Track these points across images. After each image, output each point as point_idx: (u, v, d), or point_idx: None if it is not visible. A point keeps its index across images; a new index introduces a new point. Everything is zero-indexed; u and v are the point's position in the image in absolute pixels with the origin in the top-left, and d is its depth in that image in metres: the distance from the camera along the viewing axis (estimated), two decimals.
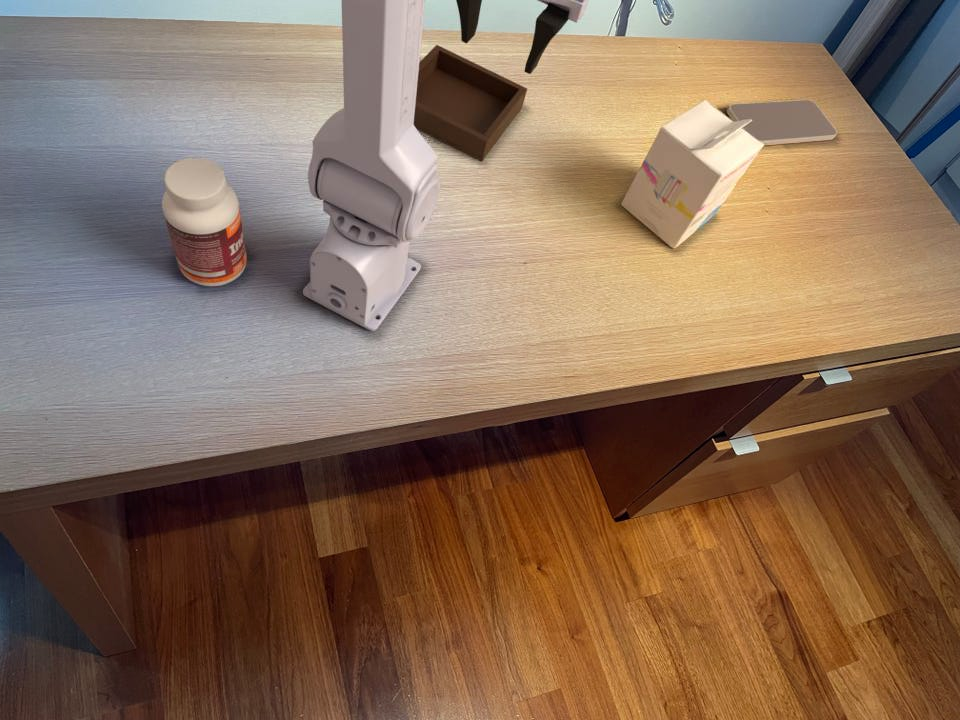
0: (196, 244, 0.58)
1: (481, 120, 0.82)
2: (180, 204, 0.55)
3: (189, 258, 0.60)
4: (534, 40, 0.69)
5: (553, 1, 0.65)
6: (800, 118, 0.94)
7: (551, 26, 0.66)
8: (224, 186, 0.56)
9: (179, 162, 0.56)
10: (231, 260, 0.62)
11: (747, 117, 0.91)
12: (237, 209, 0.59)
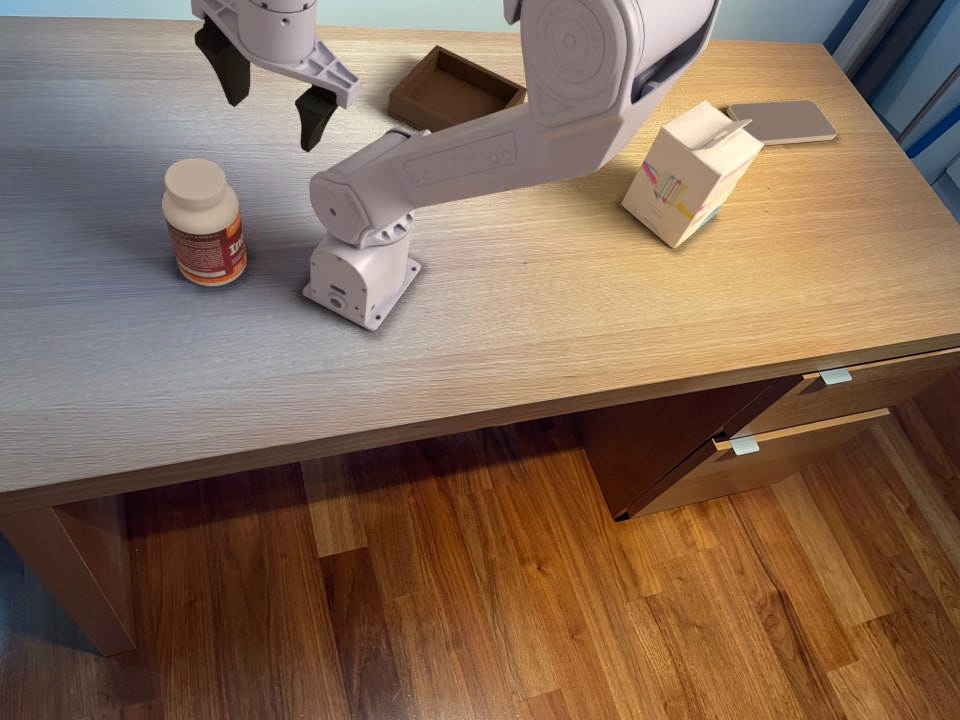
0: (196, 244, 0.58)
1: None
2: (180, 204, 0.55)
3: (189, 258, 0.60)
4: (301, 121, 0.57)
5: (314, 83, 0.53)
6: (800, 118, 0.94)
7: (312, 112, 0.54)
8: (224, 186, 0.56)
9: (179, 162, 0.56)
10: (231, 260, 0.62)
11: (747, 117, 0.91)
12: (237, 209, 0.59)
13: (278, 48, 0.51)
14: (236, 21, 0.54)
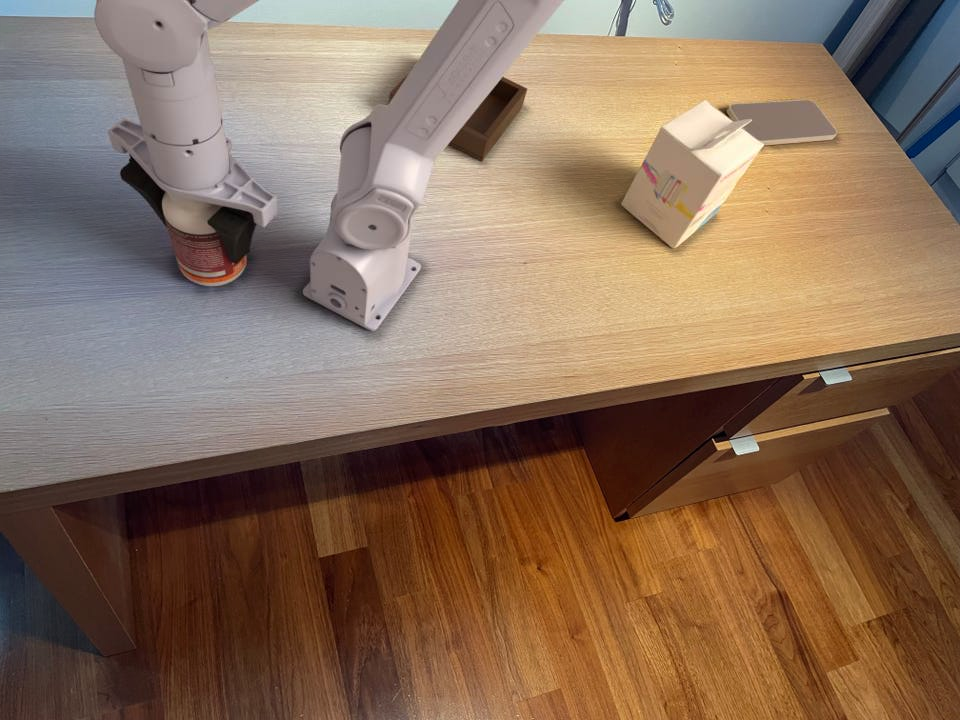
0: (196, 244, 0.58)
1: (481, 120, 0.82)
2: (180, 204, 0.55)
3: (190, 258, 0.60)
4: (221, 237, 0.57)
5: (228, 206, 0.54)
6: (800, 118, 0.94)
7: (225, 230, 0.54)
8: None
9: None
10: None
11: (747, 117, 0.91)
12: None
13: (188, 177, 0.52)
14: None
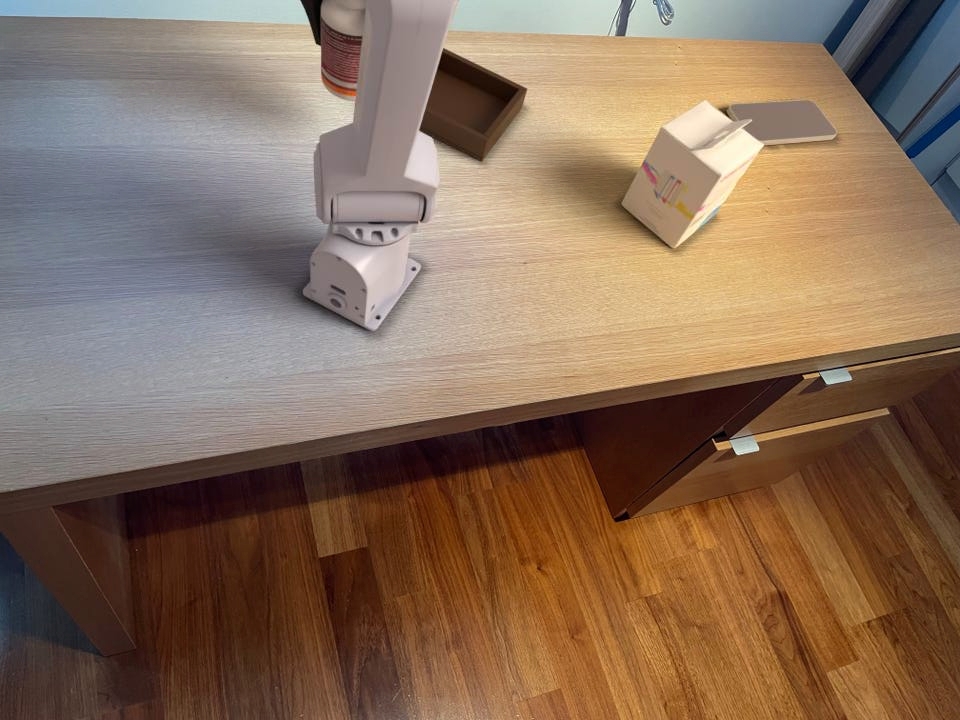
0: (350, 48, 0.64)
1: (481, 120, 0.82)
2: (343, 3, 0.61)
3: (340, 66, 0.66)
4: None
5: None
6: (800, 118, 0.94)
7: None
8: None
9: None
10: None
11: (747, 117, 0.91)
12: None
13: None
14: None
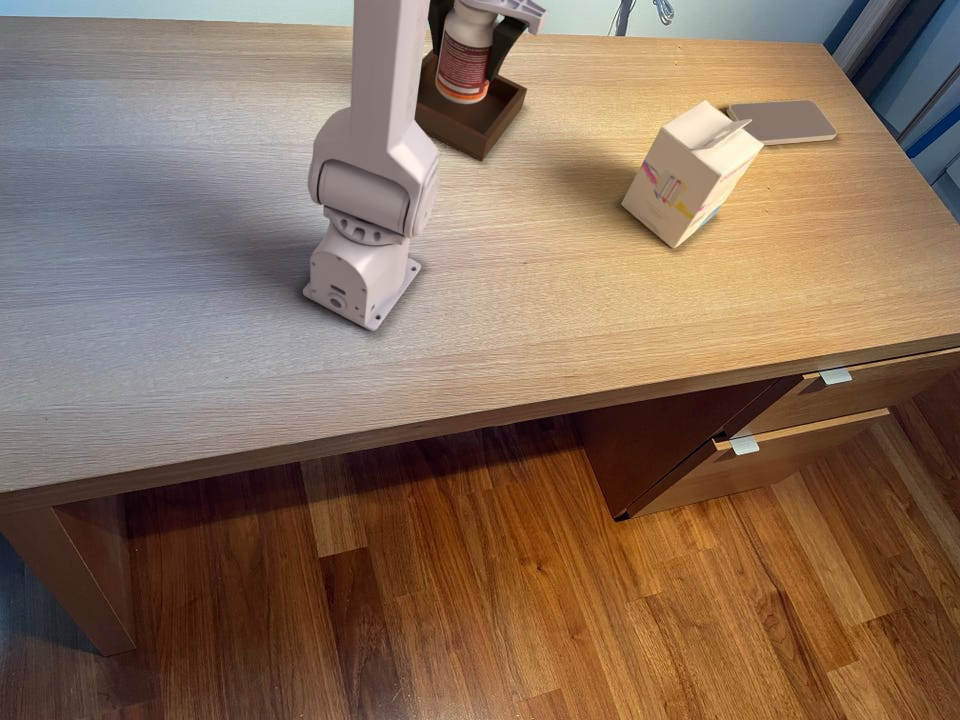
0: (469, 58, 0.73)
1: (481, 120, 0.82)
2: (468, 19, 0.70)
3: (458, 73, 0.75)
4: (493, 50, 0.72)
5: (513, 15, 0.68)
6: (800, 118, 0.94)
7: (507, 37, 0.69)
8: None
9: None
10: (485, 79, 0.76)
11: (747, 117, 0.91)
12: None
13: None
14: None
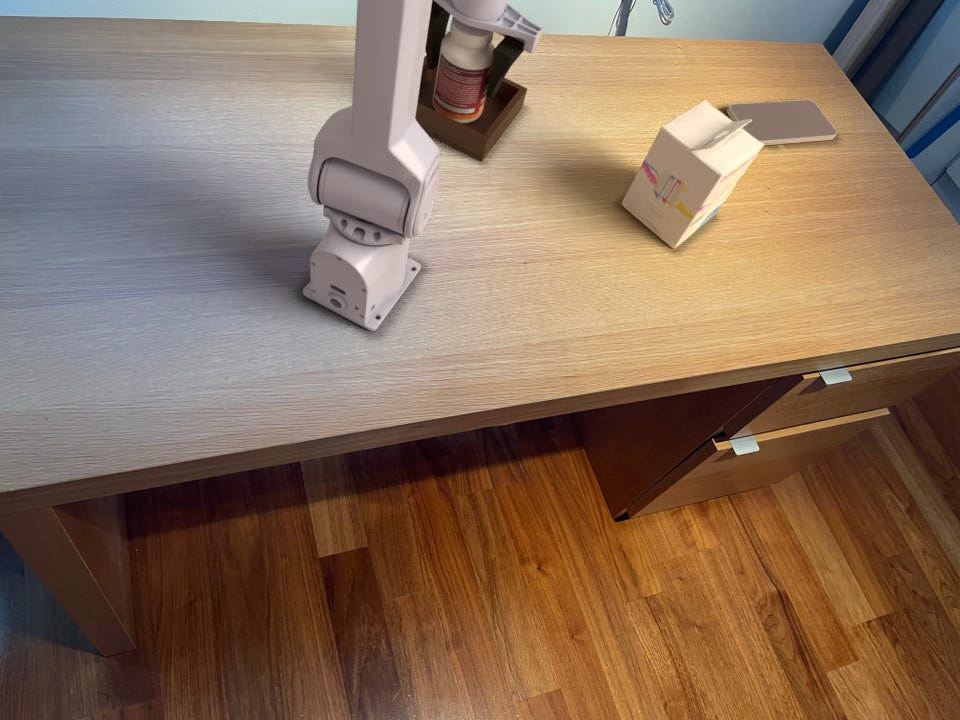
0: (465, 80, 0.75)
1: (481, 120, 0.82)
2: (463, 43, 0.72)
3: (454, 94, 0.77)
4: (493, 68, 0.74)
5: (508, 34, 0.70)
6: (800, 118, 0.94)
7: (507, 57, 0.71)
8: None
9: None
10: (481, 99, 0.79)
11: (747, 117, 0.91)
12: None
13: (485, 7, 0.68)
14: None
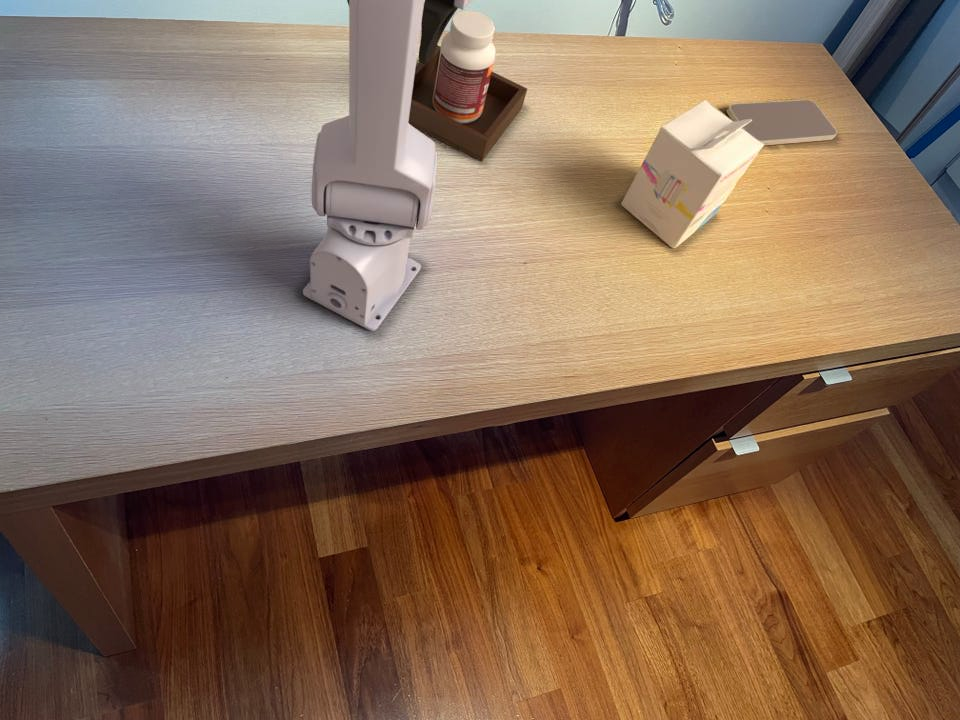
0: (465, 80, 0.75)
1: (481, 120, 0.82)
2: (463, 43, 0.72)
3: (454, 95, 0.77)
4: (422, 28, 0.66)
5: None
6: (800, 118, 0.94)
7: (435, 13, 0.63)
8: (493, 31, 0.73)
9: (459, 12, 0.73)
10: (481, 99, 0.79)
11: (747, 117, 0.91)
12: (495, 54, 0.76)
13: None
14: None
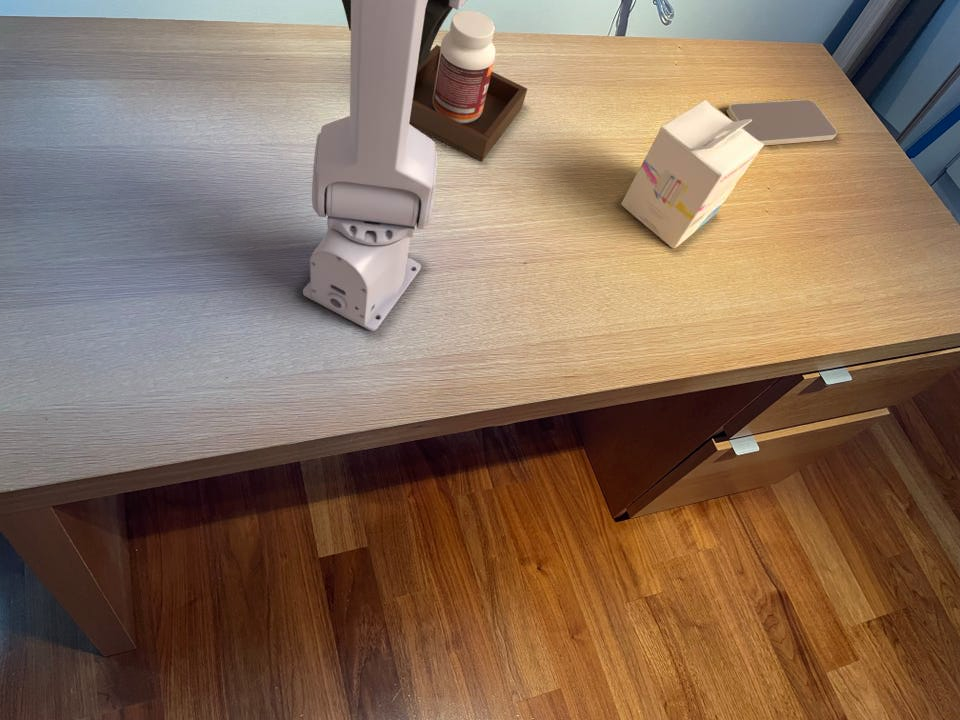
0: (465, 80, 0.75)
1: (481, 120, 0.82)
2: (463, 43, 0.72)
3: (454, 94, 0.77)
4: None
5: None
6: (800, 118, 0.94)
7: (430, 13, 0.62)
8: (493, 31, 0.73)
9: (459, 12, 0.73)
10: (481, 99, 0.79)
11: (747, 117, 0.91)
12: (495, 54, 0.76)
13: None
14: None
